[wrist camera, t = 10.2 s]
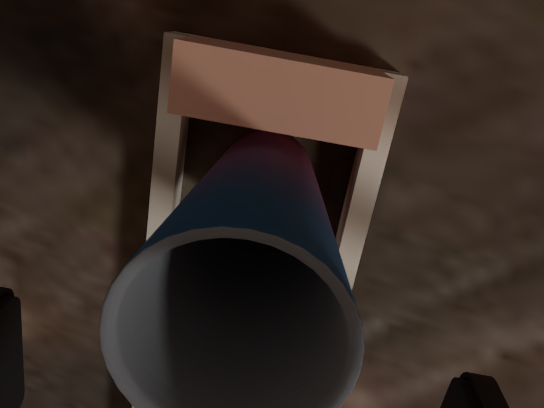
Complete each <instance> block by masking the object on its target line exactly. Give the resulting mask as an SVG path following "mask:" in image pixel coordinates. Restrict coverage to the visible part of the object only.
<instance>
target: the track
mask: <svg viewBox="0 0 544 408" xmlns="http://www.w3.org/2000/svg"><path fill="white" fill-rule="evenodd" d="M407 81H408V76H406V75H404V74H402V73H400V72H395V71H389V70H384V69H378V68H373V67H367V66H362V65H356V64H351V63H346V62H340V61H335V60H329V59H324V58H318V57H313V56H307V55H302V54H296V53H291V52H285V51H280V50H275V49H269V48H264V47H258V46H253V45H247V44H242V43H236V42H231V41H225V40H220V39H214V38H209V37H204V36H198V35H193V34H187V33H182V32H176V31H170V32H164V37H163V49H162V61H161V72H160V84H159V96H158V107H157V119H156V131H155V143H154V154H153V166H152V178H151V190H150V201H149V213H148V225H147V237H146V241H147V240H148V238H149V237H150V236H151V235H152V234H153V233H154V232H155V231H156V230H157V228H158V227H159V226H160V225H161V224H162V223H163V222H164V221H165V219H166V218H167V217H168V216H169V215H170V214H171V213H172V212H173V210H174V209H175V208H176V207H177V206H178V205H179V204H180V198H181V189H182V180H183V171H184V162H185V153H186V144H187V135H188V125H189V117H192V118H198V119H203V120H209V121H214V122H220V123H225V124H231V125H236V126H242V127H247V128H253V129H258V130H264V131H269V132H275V133H280V134H286V135H291V136H297V137H302V138H308V139H313V140H319V141H324V142H330V143H335V144H341V145H346V146H352V147H357V151H356V155H355V159H354V163H353V167H352V172H351V176H350V180H349V184H348V188H347V192H346V196H345V201H344V205H343V209H342V213H341V217H340V221H339V225H338V230H337V234H336V238H335V239H336V243H337V246H338V249H339V252H340V255H341V259H342V262H343V265H344V268H345V271H346V274H347V278H348V281H349V284H350V287H351V290H352V287H353V284H354V280H355V276H356V272H357V269H358V265H359V261H360V257H361V254H362V250H363V246H364V242H365V239H366V235H367V231H368V227H369V223H370V220H371V216H372V212H373V208H374V205H375V201H376V197H377V193H378V190H379V186H380V182H381V178H382V175H383V171H384V167H385V163H386V160H387V156H388V152H389V148H390V145H391V141H392V137H393V133H394V130H395V126H396V122H397V118H398V115H399V111H400V107H401V103H402V100H403V96H404V92H405V88H406V85H407ZM132 408H135V407H133V406H132Z"/></svg>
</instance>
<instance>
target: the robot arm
mask: <svg viewBox="0 0 544 408" xmlns="http://www.w3.org/2000/svg"><path fill="white" fill-rule="evenodd" d="M24 391H25V389H24V368H23V346H22V324H21V303H20V299H19V298H18V297H14V293H13V291H12V290H11V289H9V288H4V287H0V408H20V406H21V404H22V401H23V398H24ZM440 408H509V406H508V404H507V402H506V400H505V398H504V396H503V394H502V392H501V390H500V388H499V386H498V384H497V382H496V380H495V379H494V378H493V377H491V376H485V375H480V374H474V373H469V372H464V373H462V374H461V376H460V378H457V377H454V378H453V379H452V381H451V383H450V385H449V388H448V390H447V392H446V395H445V397H444V400H443V402H442V405H441V407H440Z"/></svg>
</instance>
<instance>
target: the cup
mask: <svg viewBox="0 0 544 408" xmlns="http://www.w3.org/2000/svg"><path fill="white" fill-rule="evenodd" d="M99 331H100V343H101V350H102V353H103V357H104V360H105V363H106V366H107V369H108V371H109V373H110V375H111V377H112V378H113V380H114V382H115V384H116V386H117V387H118V389H119V390H120V391H121V393H122V394H123V395H124V396H125V397H126V399H127V400H128V401H129V402H130V403H131V405H132V406H133V407H135V408H341V406H342V405H343V403H344V402H345V401H346V399H347V398H348V396H349V395H350V393H351V392H352V391H353V388H354V386H355V384H356V381H357V379H358V376H359V374H360V371H361V368H362V362H363V355H364V349H365V347H364V335H363V325H362V322H361V319H360V316H359V312H358V309H357V306H356V303H355V300H354V297H353V293H352V290H351V287H350V284H349V281H348V278H347V274H346V271H345V268H344V265H343V262H342V259H341V255H340V252H339V249H338V246H337V243H336V239H335V236H334V233H333V230H332V227H331V224H330V220H329V217H328V214H327V211H326V208H325V205H324V201H323V198H322V195H321V192H320V189H319V186H318V182H317V179H316V176H315V173H314V170H313V167H312V163H311V160H310V157H309V155H308V154H307V152H306V150H305V149H304V148H303V146H302V145H301V144H300V143H299V142H298V141H296V140H295V139H294V138H293V137H291V136H289V135H286V134H280V133H275V132H269V131H264V130H258V131H254V132H251V133H248V134H246V135H244V136H242V137H240V138H239V139H238V140H237V141H235V142H234V143H233V144H232V145H231V146H230V147H229V149H228V150H227V151H226V152H225V153H224V154H223V155H222V156H221V158H220V159H219V160H218V161H217V162H216V163H215V164H214V165H213V167H212V168H211V169H210V170H209V171H208V172H207V173H206V174H205V176H204V177H203V178H202V179H201V180H200V181H199V182H198V183H197V185H196V186H195V187H194V188H193V189H192V190H191V191H190V192H189V194H188V195H187V196H186V197H185V198H184V199H183V200H182V201H181V203H180V204H179V205H178V206H177V207H176V208H175V209H174V210H173V212H172V213H171V214H170V215H169V216H168V217H167V218H166V219H165V221H164V222H163V223H162V224H161V225H160V226H159V227H158V228H157V230H156V231H155V232H154V233H153V234H152V235H151V236H150V237H149V238H148V240H147V241H146V242H145V243H144V244H143V245H142V246H141V247H140V249H139V250H138V251H137V252H136V253H135V254H134V255H133V256H132V258H131V259H130V260H129V261H128V262H127V263H126V264H125V266H124V267H123V268H122V270H121V271H120V272H119V274H118V275H117V276H116V278H115V279H114V281H113V282H112V283H111V285H110V288H109V290H108V293H107V295H106V297H105V300H104V302H103V305H102V311H101V318H100V324H99Z"/></svg>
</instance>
